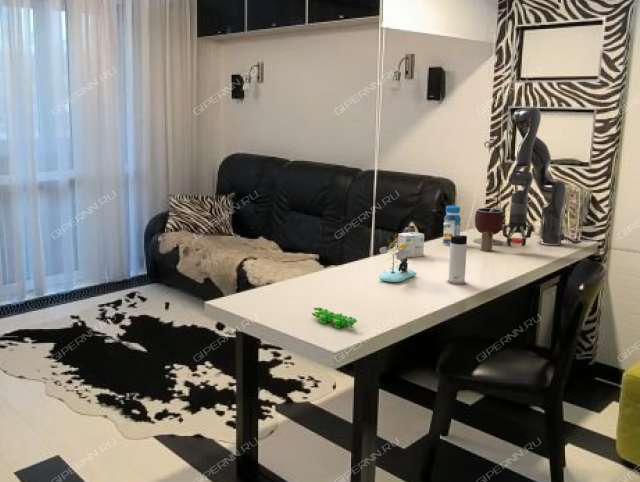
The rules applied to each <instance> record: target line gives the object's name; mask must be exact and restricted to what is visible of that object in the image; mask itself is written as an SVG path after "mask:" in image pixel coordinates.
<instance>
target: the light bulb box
mask: <svg viewBox="0 0 640 482" xmlns="http://www.w3.org/2000/svg"><path fill="white" fill-rule="evenodd" d="M397 237H398V238H397V239H398V240H397V246H398V245H400V244H402V243H403V244H404V243H406V244H407V245H406V247H407V249H409V252H410V253H411V254H410V255H408V258H413V257H415V258H416V257H424V253H425V252H424V251H425V250H424V249H425V233H421V232H418V231H413V232H412V231H411V232H402V233H398V236H397ZM398 251H399V250H398V249H397V252H398Z"/></svg>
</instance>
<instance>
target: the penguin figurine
mask: <svg viewBox="0 0 640 482" xmlns="http://www.w3.org/2000/svg"><path fill="white" fill-rule="evenodd" d="M406 245H407V244H406V243H404V244H403V243H402V244H400V245H398V244H397V246H396V247H397V248H396V249H397V251H395V250H393V251H392V252H393V253H392V252H389V253H390V254H391V255H392V257H390V258H388V259H387V261H389V260H392V262H391V266H392V267H389V270H388V271H387V270H385V269H384V270H383V272H382V273H380V274H379V277H378V278H379V280H381V281H384V282H388V283H390V282H391V283H398V282H399V283H400V282H403V281H404V280H406V279H408V278H411V277H414V276H416V275H417V272H416V271H415V270H412V269H411V268H409V267H408V266H409V263H408V262H409V261H410V260H409V259H408V258H409V257H408V255H410V254H411V253H410V252H409V249H407V247H406ZM387 249H388V247H387V246H382V247H380V248H379V252H380V255H383V254H386V253H388V250H387ZM398 250H399V251H398ZM395 259H396V261H395ZM398 261H400V263H399V264H398V265H397V267H396V268H395V263H398Z"/></svg>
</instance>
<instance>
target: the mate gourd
mask: <svg viewBox="0 0 640 482" xmlns="http://www.w3.org/2000/svg"><path fill="white" fill-rule="evenodd" d="M502 225H504V210H503V209H500V208H496V207H495V206H494V207H479V208H476V211H475V215H474V226H475V229H476V230H477V232H478V233H480V234H481V235H482V234H483V231H491V232H493V234H492V235H493V236H494V235H496V234H499V233H500V232H501V230H502ZM474 240H475V243H478V244H481V240H482V237H480V238H476V239H474ZM500 244H501V240H499V239H495V238H493V245H492V246H494V245H500Z"/></svg>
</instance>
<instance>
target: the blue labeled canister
mask: <svg viewBox="0 0 640 482" xmlns="http://www.w3.org/2000/svg"><path fill="white" fill-rule="evenodd" d="M460 211H461V207H460V206H459V205H446V206H445V213H446V214H445V216H444V217H443V221H444V222H443V236H442V237H443V238H442V244H443V245H445V246H449V247H450V244H451V243H450V242H451V236H457V235H461V226H462V225H461V221H462V219H461V216H460Z"/></svg>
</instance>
